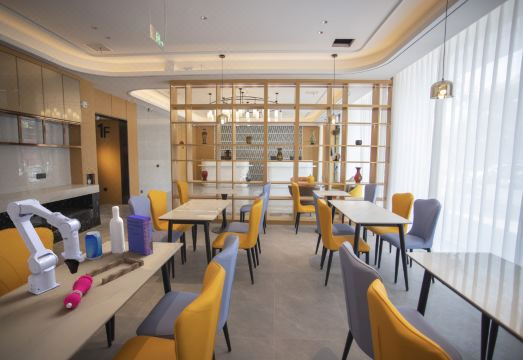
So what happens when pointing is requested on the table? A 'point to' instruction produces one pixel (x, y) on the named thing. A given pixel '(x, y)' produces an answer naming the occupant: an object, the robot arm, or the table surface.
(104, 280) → the u rest
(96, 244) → the beer can
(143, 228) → the cereal box
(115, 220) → the bottle
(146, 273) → the table surface
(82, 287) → the pepper mill
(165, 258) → the table surface
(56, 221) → the robot arm
